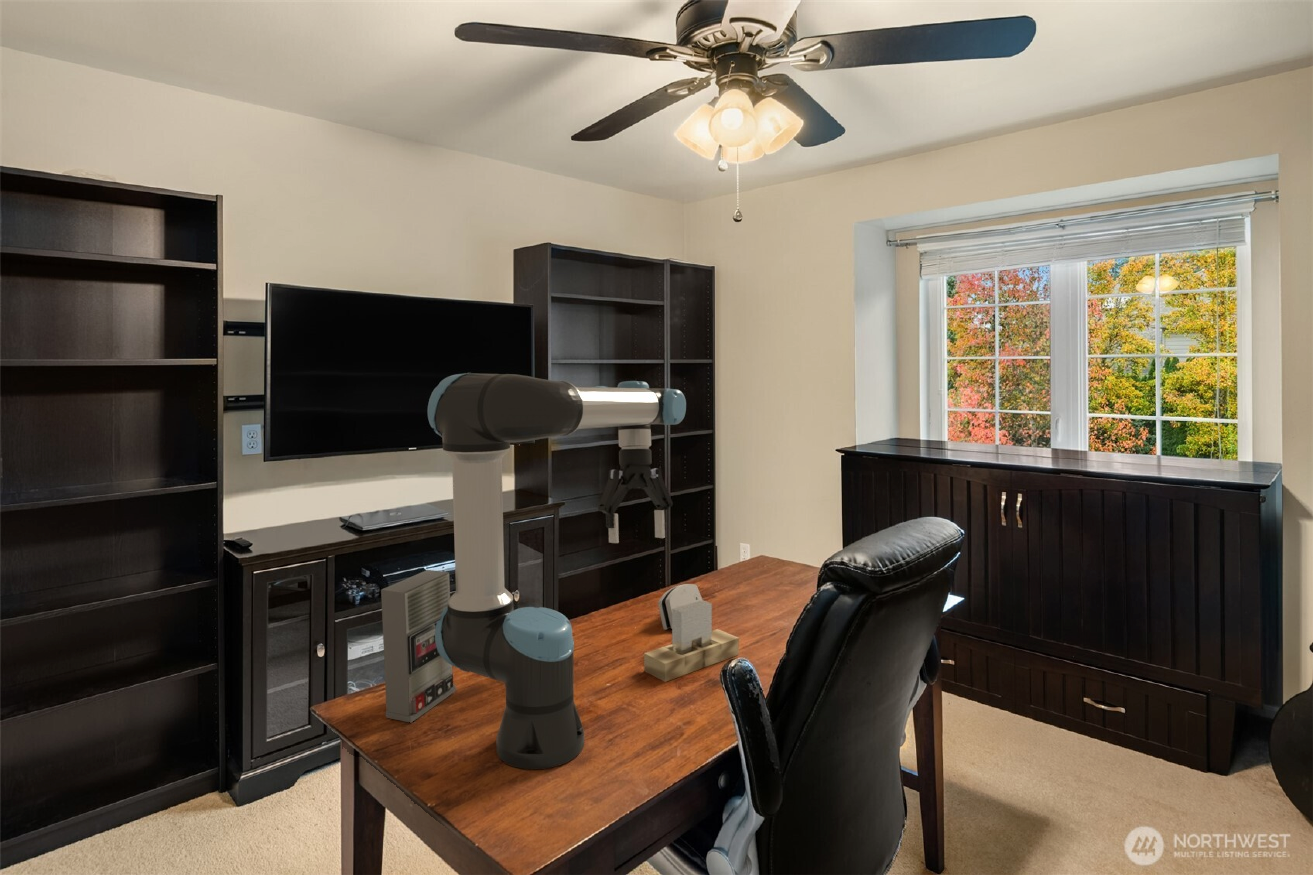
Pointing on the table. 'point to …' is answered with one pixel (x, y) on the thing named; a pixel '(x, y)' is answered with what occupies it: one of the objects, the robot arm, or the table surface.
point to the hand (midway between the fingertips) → (637, 540)
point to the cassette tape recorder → (415, 645)
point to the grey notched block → (691, 626)
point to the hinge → (676, 601)
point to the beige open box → (690, 657)
